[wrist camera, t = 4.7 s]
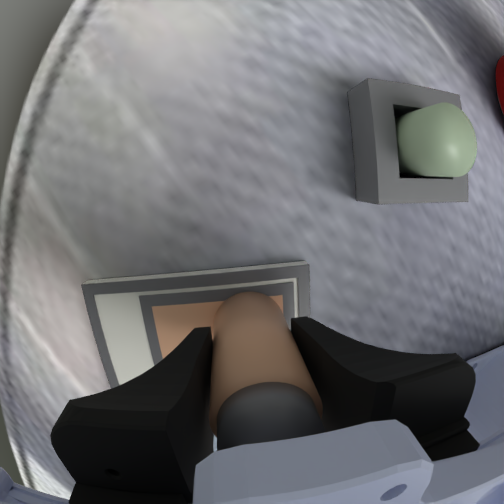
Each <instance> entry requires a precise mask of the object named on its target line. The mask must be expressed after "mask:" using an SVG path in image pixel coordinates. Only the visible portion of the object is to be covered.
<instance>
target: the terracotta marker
mask: <svg viewBox="0 0 504 504" xmlns="http://www.w3.org/2000/svg"><path fill="white" fill-rule="evenodd" d="M322 412H323V405H322V401H321V398H320V396H319V394H318V391H317V389H316V387H315V385H314V382H313V380H312V378H311V376H310V373H309V371H308V369H307V367H306V364H305V362H304V360H303V358H302V355H301V353H300V351H299V349H298V346H297V344H296V342H295V340H294V337H293V335H292V333H291V331H290V329H289V326H288V324H287V322H286V320H285V317H284V315H283V313H282V311H281V308H280V307H279V305H278V304H277V303H276V302H275V301H274V300H273V299H272V298H270V297H269V296H267V295H265V294H262V293H258V292H242V293H238V294H235V295H233V296H231V297H230V298H228V299H227V300H225V301H224V302H223V303H222V304H221V306H220V307H219V308H218V310H217V312H216V315H215V318H214V329H213V347H212V365H211V386H210V409H209V423H210V427H211V430H212V432H213V434H214V435H215V436H216V438H217V451H219V450H223V449H228V448H232V447H236V446H240V445H244V444H254V443H263V442H271V441H278V440H285V439H292V438H298V437H304V436H309V435H315V434H320V433H325V428H324V426H323V423H322V421H321V417H322Z"/></svg>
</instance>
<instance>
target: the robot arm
mask: <svg viewBox="0 0 504 504" xmlns="http://www.w3.org/2000/svg"><path fill="white" fill-rule="evenodd" d="M291 333H292V335H293V337H294V340H295V342H296V344H297V346H298V349H299V351H300V353H301V355H302V358H303V360H304V362H305V364H306V367H307V369H308V371H309V373H310V376H311V378H312V380H313V382H314V385H315V387H316V389H317V391H318V394H319V396H320V398H321V401H322V405H323V412H322V417H321V421H322V423H323V426H324V428H325V433H320V434H315V435H309V436H304V437H298V438H292V439H285V440H278V441H271V442H263V443H254V444H244V445H240V446H236V447H232V448H228V449H223V450H219V451H215V452H214V450H213V441H214V434H213V432H212V430H211V427H210V423H209V409H210V386H211V365H212V347H213V339H212V332H211V326H210V327H197V328H194V329H193V330H192V331H191V332H190V333H189V334H188V335H187V336H186V337H185V339H184V340H183V341H182V342H181V343H180V344H179V345H178V346H177V347H176V348H175V349H174V350H173V351H171V352H170V353H169V354H168V355H167V356H166V357H165V358H163V359H162V360H161V361H160V362H159V363H157V364H156V365H155V366H153V367H152V368H150V369H149V370H147V371H146V372H144V373H143V374H141V375H139V376H137V377H135V378H133V379H131V380H130V381H128V382H126V383H124V384H121V385H119V386H117V387H114V388H112V389H109V390H106V391H103V392H100V393H97V394H94V395H90V396H85V397H81V398H77V399H72V400H69V402H68V403H67V405H66V407H65V408H64V410H63V412H62V413H61V415H60V417H59V418H58V420H57V422H56V423H55V425H54V427H53V428H52V432H51V435H50V436H51V443H52V445H53V448H54V450H55V452H56V453H57V455H58V457H59V458H60V460H61V461H62V463H63V464H64V466H65V467H66V469H67V470H68V471H69V473H70V474H71V476H72V477H73V478H74V480H75V481H76V484H75V486H74V489H73V492H72V494H71V497H70V500H68V499H64V498H60V497H56V496H53V495H50V494H46V493H43V492H40V491H37V490H34V489H31V488H28V487H25V486H22V485H19V484H16V483H14V482H13V481H12V479H11V477H10V476H9V475H8V474H7V472H6V471H5V470H4V469H3V468H1V467H0V504H504V345H502V346H500V347H498V348H496V349H493V350H491V351H489V352H487V353H484V354H482V355H480V356H477V357H475V358H472V359H470V360H468V361H465V360H463V359H462V358H461V357H460V356H459V355H457V354H456V353H452V354H415V353H405V352H398V351H393V350H387V349H383V348H378V347H375V346H372V345H368V344H365V343H362V342H359V341H356V340H354V339H352V338H349V337H347V336H345V335H342V334H340V333H338V332H336V331H334V330H332V329H330V328H328V327H326V326H325V325H323V324H321V323H319V322H317V321H315V320H314V319H312V318H310V317H307V316H304V317H297V318H291Z"/></svg>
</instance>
